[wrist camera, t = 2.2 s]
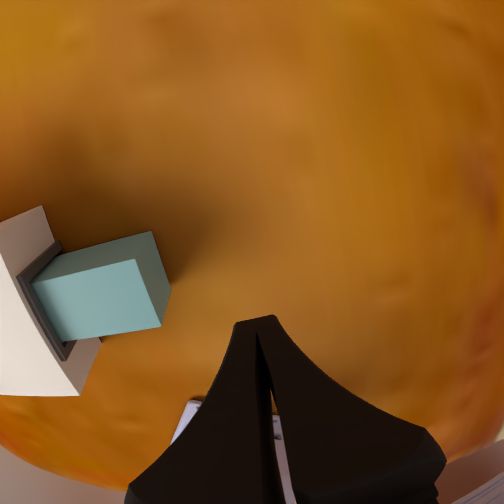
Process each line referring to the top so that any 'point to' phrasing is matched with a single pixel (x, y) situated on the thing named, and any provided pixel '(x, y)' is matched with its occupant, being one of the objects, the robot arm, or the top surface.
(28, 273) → the socket block
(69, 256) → the peg
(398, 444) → the robot arm
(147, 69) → the top surface
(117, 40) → the top surface
